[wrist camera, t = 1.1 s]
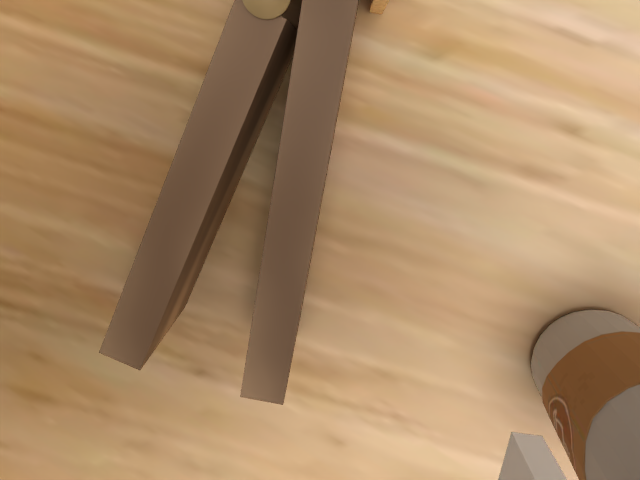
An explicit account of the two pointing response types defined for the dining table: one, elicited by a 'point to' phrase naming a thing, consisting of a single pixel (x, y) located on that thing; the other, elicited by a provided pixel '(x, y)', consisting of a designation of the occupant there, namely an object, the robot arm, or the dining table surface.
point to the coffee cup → (593, 391)
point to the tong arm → (201, 180)
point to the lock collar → (378, 6)
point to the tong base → (296, 186)
